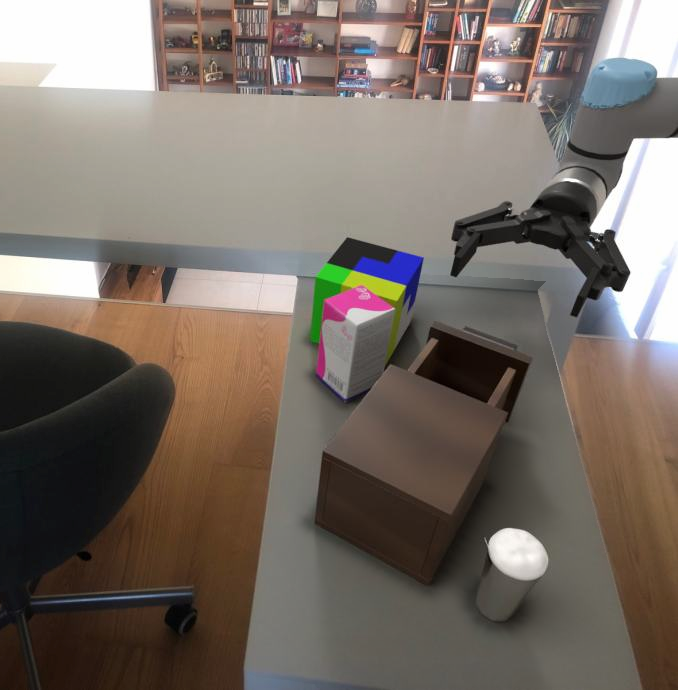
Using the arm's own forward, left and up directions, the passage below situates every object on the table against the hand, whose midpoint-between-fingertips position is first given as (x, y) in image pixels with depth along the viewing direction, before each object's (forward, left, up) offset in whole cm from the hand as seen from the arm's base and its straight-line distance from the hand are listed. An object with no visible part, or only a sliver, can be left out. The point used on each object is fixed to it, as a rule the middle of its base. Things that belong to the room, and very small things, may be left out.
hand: (513, 286), depth 78 cm
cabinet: (+10, +24, -11) cm, 28 cm away
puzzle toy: (+16, -3, -12) cm, 20 cm away
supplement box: (+17, +7, -12) cm, 21 cm away
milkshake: (+2, +33, -12) cm, 35 cm away
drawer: (+5, +12, -10) cm, 17 cm away
